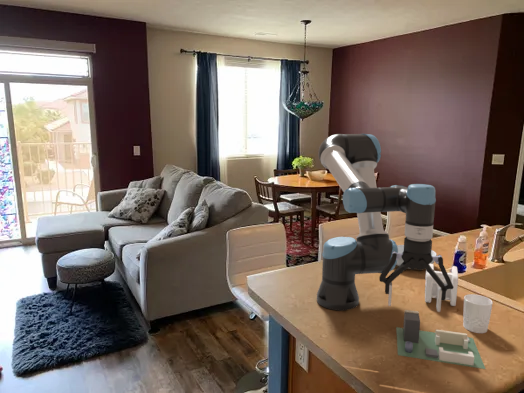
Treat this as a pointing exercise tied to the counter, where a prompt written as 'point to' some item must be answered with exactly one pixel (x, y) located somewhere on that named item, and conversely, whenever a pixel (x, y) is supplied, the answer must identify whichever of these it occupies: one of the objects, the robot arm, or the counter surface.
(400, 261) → the serving bowl
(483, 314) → the white cup
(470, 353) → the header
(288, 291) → the counter surface
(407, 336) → the plug
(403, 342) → the board
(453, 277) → the cable organizer
